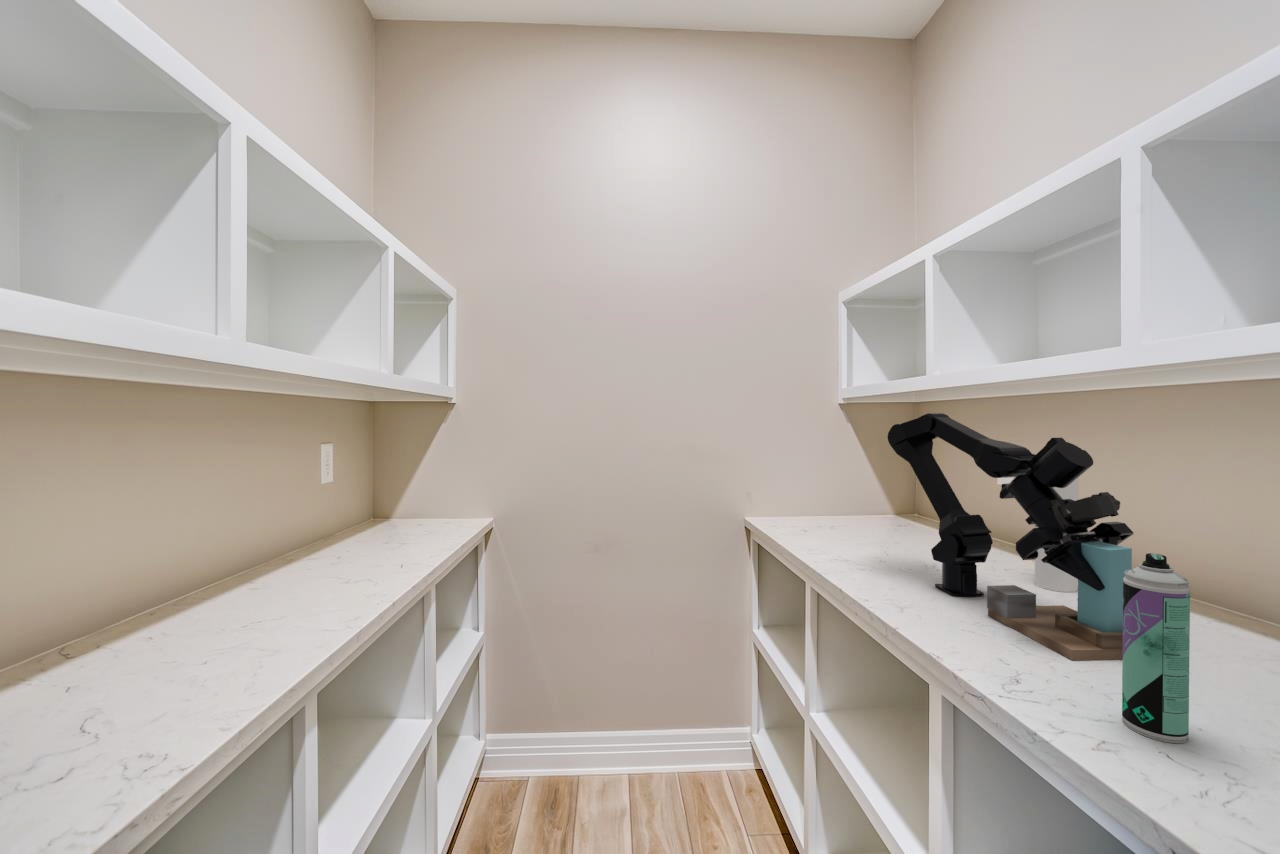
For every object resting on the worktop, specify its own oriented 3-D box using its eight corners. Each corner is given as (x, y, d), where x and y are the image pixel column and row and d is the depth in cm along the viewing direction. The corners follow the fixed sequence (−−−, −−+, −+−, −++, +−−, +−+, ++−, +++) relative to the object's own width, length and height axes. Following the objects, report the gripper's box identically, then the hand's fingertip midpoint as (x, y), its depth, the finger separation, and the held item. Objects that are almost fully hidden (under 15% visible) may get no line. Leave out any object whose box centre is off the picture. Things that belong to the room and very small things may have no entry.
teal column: (1077, 624, 84) (1078, 543, 84) (1098, 621, 86) (1099, 541, 85) (1108, 636, 80) (1109, 550, 80) (1130, 632, 81) (1131, 548, 81)
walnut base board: (985, 615, 96) (985, 584, 96) (1063, 613, 96) (1063, 583, 96) (1068, 660, 78) (1068, 623, 78) (1164, 658, 78) (1164, 621, 78)
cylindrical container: (1037, 589, 110) (1038, 468, 110) (1031, 579, 117) (1032, 465, 116) (1081, 594, 107) (1082, 470, 107) (1072, 584, 113) (1073, 467, 113)
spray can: (1153, 714, 64) (1155, 548, 63) (1203, 742, 58) (1205, 561, 58) (1109, 716, 64) (1110, 549, 63) (1155, 744, 58) (1156, 561, 58)
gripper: (1033, 477, 84) (1110, 566, 73) (1120, 473, 89) (1204, 556, 78) (988, 517, 92) (1052, 603, 81) (1071, 512, 96) (1141, 592, 86)
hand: (1113, 588), depth 81 cm, fingers closed on teal column, 4 cm apart
